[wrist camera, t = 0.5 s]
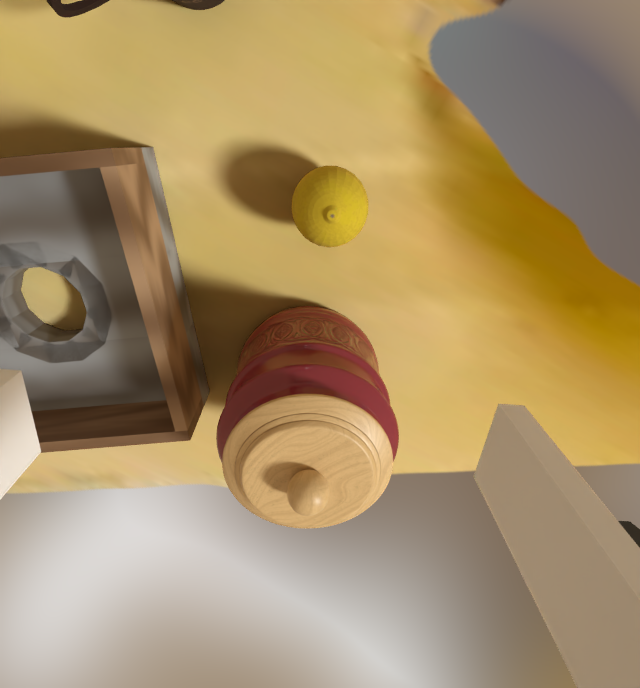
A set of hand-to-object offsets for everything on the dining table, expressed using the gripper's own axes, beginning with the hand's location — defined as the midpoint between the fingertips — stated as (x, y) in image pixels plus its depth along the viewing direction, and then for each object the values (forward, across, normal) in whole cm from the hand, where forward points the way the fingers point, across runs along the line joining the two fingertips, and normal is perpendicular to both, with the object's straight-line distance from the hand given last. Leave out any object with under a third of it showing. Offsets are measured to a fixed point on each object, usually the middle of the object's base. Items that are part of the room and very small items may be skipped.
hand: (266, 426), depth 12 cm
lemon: (+26, +2, +3) cm, 26 cm away
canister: (+26, +2, -12) cm, 29 cm away
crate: (+26, -20, -7) cm, 33 cm away
